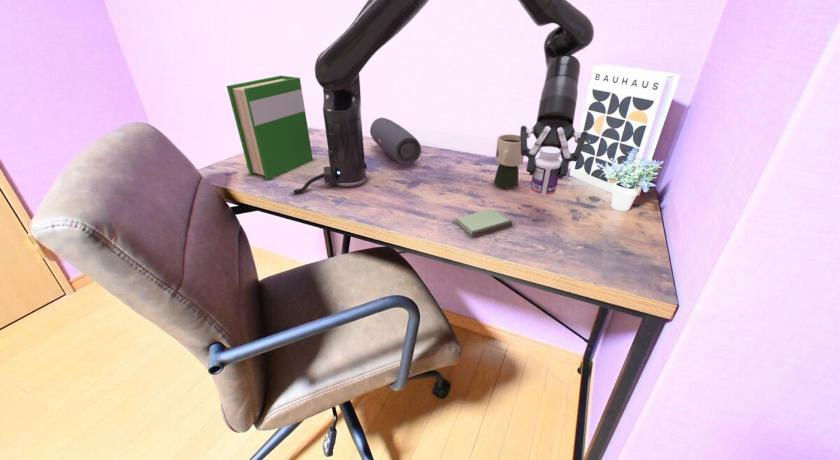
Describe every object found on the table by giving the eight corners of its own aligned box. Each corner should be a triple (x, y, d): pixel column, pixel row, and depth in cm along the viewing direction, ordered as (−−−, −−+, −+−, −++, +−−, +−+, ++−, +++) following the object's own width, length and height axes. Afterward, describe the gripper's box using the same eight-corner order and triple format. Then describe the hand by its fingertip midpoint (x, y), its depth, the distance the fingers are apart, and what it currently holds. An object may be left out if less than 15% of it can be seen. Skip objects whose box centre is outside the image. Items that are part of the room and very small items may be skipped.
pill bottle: (553, 187, 83) (562, 145, 78) (556, 198, 79) (566, 154, 73) (528, 185, 84) (536, 144, 79) (530, 196, 79) (538, 153, 74)
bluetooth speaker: (369, 147, 125) (367, 117, 120) (394, 143, 128) (393, 114, 123) (393, 171, 108) (392, 137, 102) (422, 166, 111) (422, 133, 106)
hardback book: (267, 180, 102) (246, 89, 90) (249, 174, 105) (226, 85, 93) (312, 159, 115) (299, 77, 103) (295, 155, 118) (280, 75, 106)
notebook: (473, 237, 78) (474, 232, 77) (456, 222, 83) (456, 217, 82) (511, 226, 82) (512, 221, 81) (492, 212, 87) (493, 208, 86)
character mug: (499, 175, 105) (504, 130, 98) (523, 180, 102) (531, 134, 95) (486, 190, 97) (491, 142, 90) (513, 196, 94) (520, 147, 87)
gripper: (524, 91, 79) (511, 164, 76) (597, 96, 75) (586, 173, 72) (523, 110, 86) (510, 178, 83) (589, 115, 82) (579, 186, 79)
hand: (546, 175), depth 77 cm, fingers closed on pill bottle, 5 cm apart
